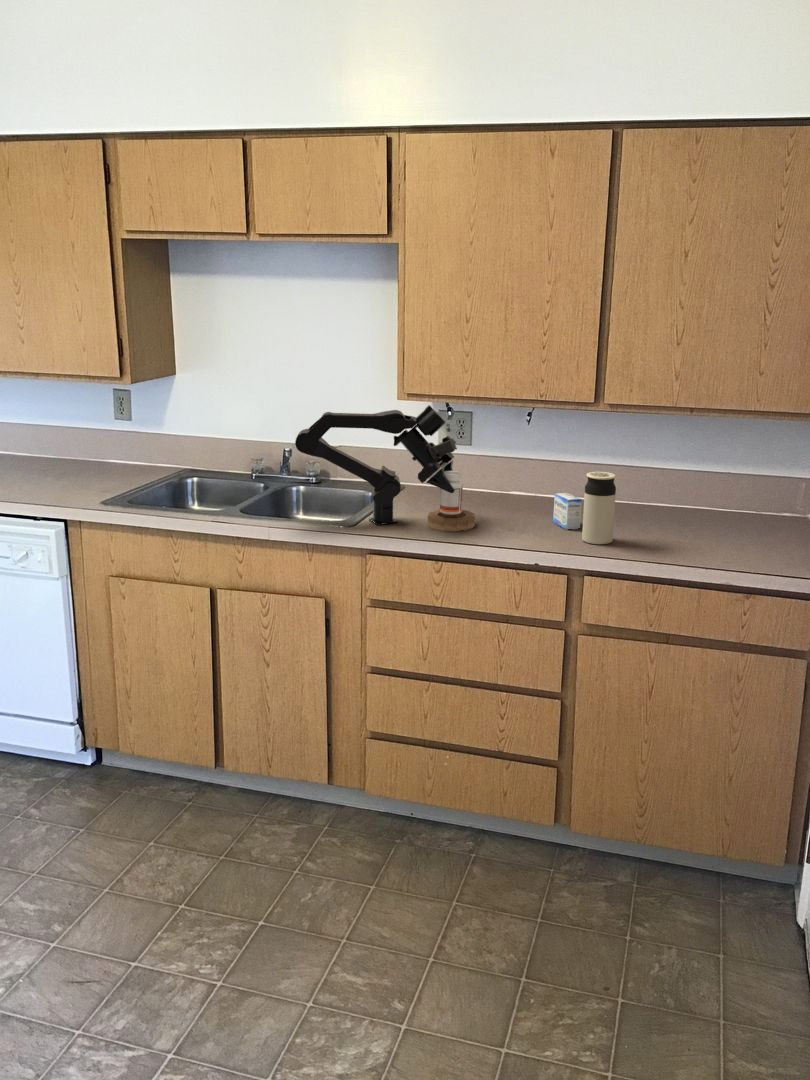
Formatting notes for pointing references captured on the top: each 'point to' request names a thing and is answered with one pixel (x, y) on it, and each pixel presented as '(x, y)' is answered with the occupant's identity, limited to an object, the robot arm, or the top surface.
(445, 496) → the pill bottle
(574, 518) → the medicine box
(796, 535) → the top surface
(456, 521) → the walnut ring
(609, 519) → the travel mug
